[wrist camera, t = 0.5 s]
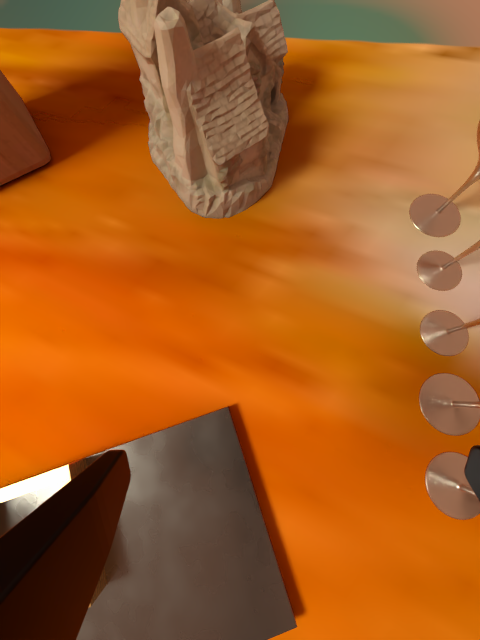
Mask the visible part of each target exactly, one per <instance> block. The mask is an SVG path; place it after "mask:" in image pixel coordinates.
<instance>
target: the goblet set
mask: <svg viewBox="0 0 480 640" xmlns="http://www.w3.org/2000/svg"><path fill="white" fill-rule="evenodd" d="M477 146H478V152H479V160H478V163H477V166H476V168H475V170H474V171H473V173H472V174H471V176H470V177H469V178H468V179H467V181H466V182H465V183H464V184H463V185H462V186H461V187H460V188H459V189H458V190H457V191H456V192H455V193H454V194H453V195H452V196H451V197H450V198H449V199H447V198H445V197H443V196H440V195H436V194H426V195H422V196H420V197H418V198H416V199H415V200H414V201H413V202H412V204H411V206H410V210H409V214H410V219H411V221H412V223H413V224H414V226H415V227H416V228H417V229H418V230H420V231H421V232H423V233H424V234H427V235H429V236H433V237H445V236H448V235H450V234H452V233H454V232H455V231H456V230H457V229H458V227H459V225H460V213H459V210H458V209H457V207H456V206H455V204H454V203H453V202H452V201H453V200H454V199H455V198H457V197H458V196H459V195H460V194H461V193H462V192H463V191H464V190H466V189H467V188H468V187H469V186H471V185H472V184H473V183H475V182H476V181H478V180H479V179H480V121H479V124H478V129H477ZM479 248H480V240H479V241H478V242H477V243H475V244H474V245H473V246H471V247H470V248H468V249H467V250H465V251H464V252H463V253H461V254H460V255H458V256H457V257H455V258H454V257H452V256H451V255H449V254H447V253H445V252H442V251H429V252H427V253H425V254H423V255H422V256H421V257H420V258H419V260H418V262H417V272H418V275H419V277H420V279H421V280H422V281H423V282H424V283H425V284H426V285H427V286H429V287H430V288H432V289H435V290H439V291H447V290H451V289H453V288H455V287H456V286H457V285H458V284H459V282H460V281H461V277H462V271H461V267H460V265H459V263H458V262H457V261H459V260H460V259H462V258H464V257H465V256H467V255H469V254H471V253H472V252H474V251H476V250H478V249H479ZM476 325H480V319H477V320H475V321H472V322H469V323H466V324H464V323H463V321H462V320H461V319H460V318H459V317H457V316H456V315H455V314H453V313H451V312H448V311H443V310H436V311H432V312H430V313H428V314H427V315H426V316H425V317H424V318H423V319H422V321H421V324H420V334H421V337H422V339H423V341H424V343H425V344H426V345H427V347H428V348H429V349H431V350H432V351H433V352H435V353H437V354H440V355H443V356H454V355H457V354H459V353H461V352H462V351H463V350H464V349H465V348H466V346H467V343H468V331H467V328H469V327H472V326H476ZM419 404H420V408H421V411H422V413H423V415H424V417H425V418H426V420H427V421H428V422H429V423H430V424H431V425H432V426H433V427H434V428H435V429H437V430H438V431H440V432H442V433H445V434H448V435H454V436H458V435H464V434H466V433H469V432H470V431H472V430H473V429H474V428H475V427H476V425H477V424H478V422H479V419H480V401H479V398H478V396H477V394H476V392H475V390H474V389H473V388H472V387H471V385H470V384H469V383H467V382H466V381H465V380H464V379H462V378H460V377H458V376H456V375H453V374H448V373H440V374H435V375H433V376H431V377H429V378H428V379H427V380H426V381H425V382H424V383H423V385H422V387H421V389H420V393H419ZM467 459H468V457H466V456H465V455H463V454H460V453H456V452H444V453H441V454H438V455H437V456H435V457H434V458H433V459H432V460H431V461H430V463H429V464H428V466H427V469H426V473H425V485H426V489H427V492H428V495H429V497H430V499H431V500H432V502H433V503H434V505H435V506H436V507H437V508H438V509H439V510H440V511H441V512H443V513H444V514H446V515H447V516H449V517H452V518H455V519H460V520H466V519H471V518H473V517H475V516H477V515H478V514H480V502H479V500H478V498H477V496H476V495H475V493H474V491H473V490H472V488H471V486H470V485H469V483H468V481H467V479H466V477H465V473H464V468H465V465H466V462H467Z"/></svg>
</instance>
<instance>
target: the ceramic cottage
mask: <svg viewBox="0 0 480 640" xmlns="http://www.w3.org/2000/svg"><path fill="white" fill-rule="evenodd" d="M222 2H223V4H221V3H219V1H218V0H191V1H190V2H188V3H187V1H186V0H121V4H120V7H119V16H118V20H119V25H120V30H121V32H122V33H123V34H124V36H125V37H126V38H127V40H128V41H129V42H130V43H131V47H132V49H133V52H134V55H135V57H136V60H137V63H138V65H139V68H140V71H141V75H140V79H139V81H140V82H141V84H142V88H143V94H144V96H145V100H144V104H145V108H146V111H147V112H148V114H149V117H150V123H149V134H148V135H149V142H148V145H149V149H150V153H151V157H152V160H153V162H154V163H155V165H156V166H157V167H158V168H159V170H160V171H161V172H162V173H163V174H164V177H165V178H166V179H167V180H168V181H169V184H170V185H171V187H172V188H173V189H174V190H175V191H176V193H177V194H178V196H179V197H180V199H181V200H182V201H183V202H184V204H185V205H186V206H187V208H188V209H190V210H191V211H192V212H194V213H196V214H198V215H201V216H202V217H204V216H205V218H223V217H228V218H229V217H230V216H233V215H235V214H238V213H240V212H242V211H244V210H246V209H247V208H249V207H250V206H251V205H253V204H254V203H255V202H257V200H259V199H260V198H261V197H262V195H264V193H266V192H267V191H268V190H269V189H270V187H271V186H272V182H273V179H274V176H275V172H276V168H277V162H278V159H279V152H280V151H281V144H282V142H283V138H284V134H285V130H286V126H287V123H288V108H287V102H286V100H285V99H284V97H283V94H282V93H280V87H281V83H282V76H283V73H284V70H283V65H284V62H283V57H284V56H285V55H286V53H287V52H288V51H287V45H286V40H285V37H284V32H283V28H282V24H281V19H280V14H279V10H278V8H277V6H276V4H275V2H274V0H268V1H267V2H264V3H263V4H261V5H259V6H257V7H255V8H252V9H250V10H247V11H245V12H243V13H242V10H241V4H240V0H222Z"/></svg>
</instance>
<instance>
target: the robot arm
mask: <svg viewBox="0 0 480 640" xmlns="http://www.w3.org/2000/svg"><path fill="white" fill-rule="evenodd" d="M464 473H465V477H466V479H467V481H468V483H469V485H470V486H471V488H472V490H473V491H474V493H475V495H476V496H477V498H478V500H479V502H480V445H476V446H473V447H472V448H471V450H470V453H469V456H468V459H467V462H466V465H465V468H464ZM130 479H131V472H130V467H129V462H128V457H127V453H126V451H125V450H123V449H120V450H109V451H107V452H105V453H104V454H103V455H102V456H101V457H99V458H98V459H97V460H96V461H94V462H93V463H92V464H91V465H89V466H88V467H87V468H86V469H84V470H83V471H82V472H81V473H79V474H78V475H77V476H76V477H74V478H73V479H72V480H71V481H69V482H68V483H67V484H66V485H65V486H63V487H62V488H61V489H60V490H58V491H57V492H56V493H55V494H53V495H52V496H51V497H50V498H48V499H47V500H46V501H45V502H43V503H42V504H41V505H40V506H38V507H37V508H36V509H35V510H33V511H32V512H31V513H30V514H29V515H27V516H26V517H25V518H24V519H22V520H21V521H20V522H19V523H17V524H16V525H15V526H14V527H12V528H11V529H10V530H9V531H7V532H6V533H5V534H4V535H2V536H1V537H0V640H76V639H77V636H78V634H79V631H80V629H81V626H82V623H83V621H84V618H85V616H86V613H87V610H88V608H89V605H90V603H91V600H92V597H93V595H94V592H95V590H96V587H97V584H98V582H99V579H100V577H101V574H102V571H103V569H104V566H105V564H106V561H107V558H108V555H109V553H110V550H111V546H112V543H113V540H114V537H115V533H116V530H117V526H118V523H119V519H120V516H121V512H122V509H123V505H124V502H125V498H126V495H127V491H128V488H129V484H130Z"/></svg>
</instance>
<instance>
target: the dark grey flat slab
mask: <svg viewBox="0 0 480 640" xmlns="http://www.w3.org/2000/svg"><path fill="white" fill-rule="evenodd" d="M120 449H123V450H125V451H126V453H127V457H128V462H129V467H130V472H131V479H130V484H129V488H128V491H127V495H126V498H125V502H124V505H123V509H122V512H121V516H120V519H119V523H118V526H117V530H116V533H115V537H114V540H113V543H112V546H111V550H110V553H109V555H108V558H107V561H106V564H105V566H104V569H103V571H102V574H101V577H100V579H99V582H98V584H97V587H96V590H95V592H94V595H93V597H92V600H91V603H90V605H89V608H88V610H87V613H86V616H85V618H84V621H83V623H82V626H81V629H80V631H79V634H78V636H77V639H76V640H267V639H270V638H272V637H275V636H277V635H279V634H282V633H284V632H286V631H289V630H291V629H294V628H296V627H297V625H296V620H295V616H294V613H293V610H292V607H291V603H290V600H289V597H288V594H287V591H286V588H285V584H284V581H283V578H282V575H281V572H280V569H279V565H278V562H277V559H276V556H275V553H274V550H273V546H272V543H271V540H270V537H269V534H268V531H267V527H266V524H265V521H264V518H263V515H262V512H261V508H260V505H259V502H258V499H257V496H256V493H255V489H254V486H253V483H252V480H251V477H250V474H249V470H248V467H247V464H246V461H245V458H244V455H243V452H242V448H241V445H240V442H239V439H238V436H237V433H236V429H235V426H234V423H233V420H232V417H231V414H230V410H229V407H226V408H223V409H220V410H217V411H214V412H212V413H209V414H206V415H203V416H200V417H198V418H195V419H192V420H189V421H186V422H184V423H181V424H178V425H175V426H172V427H170V428H167V429H164V430H161V431H158V432H156V433H153V434H150V435H147V436H144V437H142V438H139V439H136V440H133V441H130V442H128V443H125V444H122V445H119V446H116V447H114V448H111V449H108V450H105V451H102V452H100V453H97V454H94V455H91V456H88V457H86V458H83V459H80V460H77V461H74V462H72V463H69V464H66V465H63V466H60V467H58V468H55V469H52V470H49V471H46V472H44V473H41V474H38V475H35V476H32V477H30V478H27V479H24V480H21V481H18V482H16V483H13V484H10V485H7V486H4V487H2V488H0V537H1V536H2V535H4V534H5V533H6V532H7V531H9V530H10V529H11V528H12V527H14V526H15V525H16V524H17V523H19V522H20V521H21V520H22V519H24V518H25V517H26V516H27V515H29V514H30V513H31V512H32V511H33V510H35V509H36V508H37V507H38V506H40V505H41V504H42V503H43V502H45V501H46V500H47V499H48V498H50V497H51V496H52V495H53V494H55V493H56V492H57V491H58V490H60V489H61V488H62V487H63V486H65V485H66V484H67V483H68V482H69V481H71V480H72V479H73V478H74V477H76V476H77V475H78V474H79V473H81V472H82V471H83V470H84V469H86V468H87V467H88V466H89V465H91V464H92V463H93V462H94V461H96V460H97V459H98V458H99V457H101V456H102V455H103V454H104V453H105V452H107V451H109V450H120Z"/></svg>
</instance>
